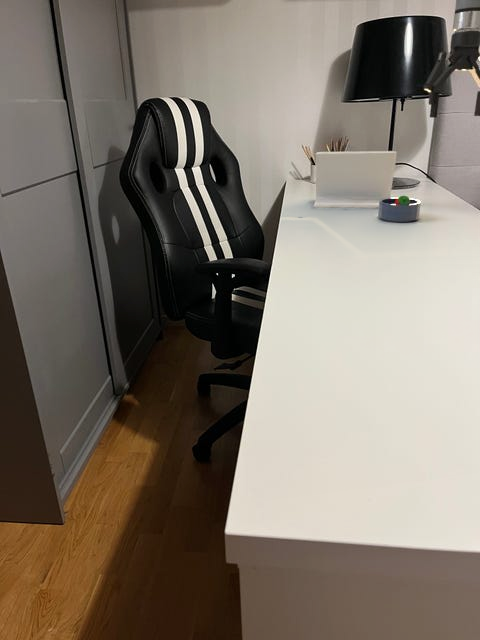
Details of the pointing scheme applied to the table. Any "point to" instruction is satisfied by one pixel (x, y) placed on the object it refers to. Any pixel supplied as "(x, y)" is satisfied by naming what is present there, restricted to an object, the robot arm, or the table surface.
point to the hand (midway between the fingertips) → (455, 116)
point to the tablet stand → (354, 178)
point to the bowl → (398, 210)
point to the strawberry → (402, 200)
